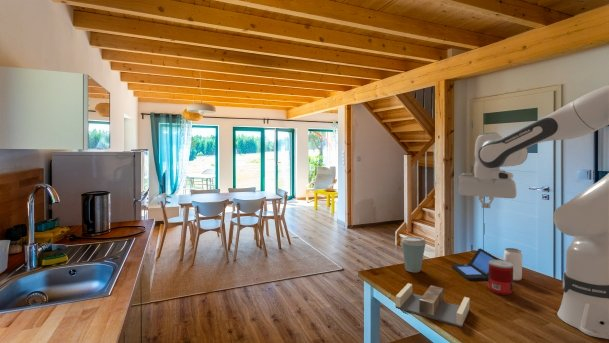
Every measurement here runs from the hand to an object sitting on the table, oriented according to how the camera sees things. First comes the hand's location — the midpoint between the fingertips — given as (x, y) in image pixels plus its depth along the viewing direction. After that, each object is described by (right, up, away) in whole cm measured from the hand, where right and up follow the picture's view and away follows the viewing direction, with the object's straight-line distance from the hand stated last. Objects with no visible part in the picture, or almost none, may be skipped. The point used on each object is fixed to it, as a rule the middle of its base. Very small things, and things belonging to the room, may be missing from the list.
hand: (485, 207), depth 126 cm
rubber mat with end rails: (-29, -33, -18) cm, 48 cm away
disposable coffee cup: (-24, -31, +17) cm, 42 cm away
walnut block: (-25, -30, -12) cm, 40 cm away
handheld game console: (+2, -31, +12) cm, 33 cm away
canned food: (+2, -32, -5) cm, 32 cm away
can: (+15, -31, +6) cm, 35 cm away
